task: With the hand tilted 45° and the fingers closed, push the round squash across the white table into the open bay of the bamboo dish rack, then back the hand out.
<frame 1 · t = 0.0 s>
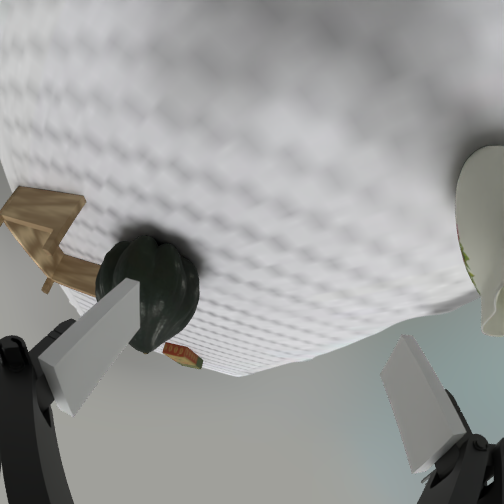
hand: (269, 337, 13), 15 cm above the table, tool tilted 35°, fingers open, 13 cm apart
pitcher: (492, 179, 18), on the table
carton: (185, 350, 90), on the table
squash: (161, 254, 39), on the table
rack: (69, 232, 40), on the table
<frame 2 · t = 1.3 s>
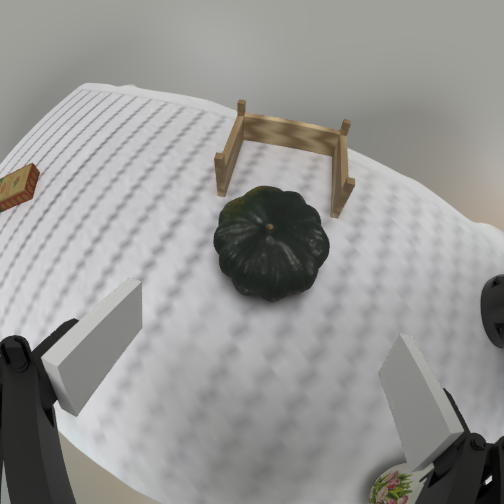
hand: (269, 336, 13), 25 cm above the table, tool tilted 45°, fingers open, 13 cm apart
pitcher: (386, 489, 26), on the table
carton: (14, 196, 47), on the table
squash: (268, 261, 42), on the table
rack: (284, 171, 49), on the table
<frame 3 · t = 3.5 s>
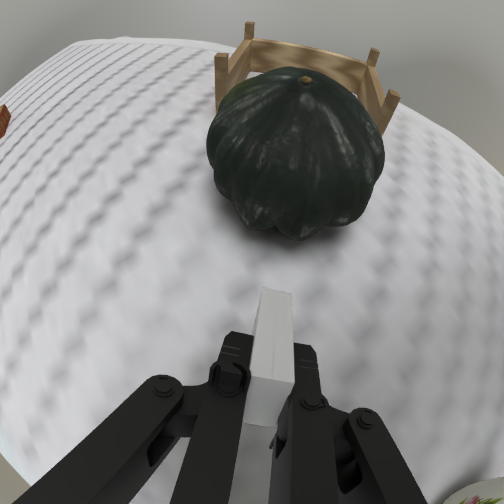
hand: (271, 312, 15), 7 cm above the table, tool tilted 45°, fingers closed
squash: (286, 193, 27), on the table
rack: (301, 99, 35), on the table
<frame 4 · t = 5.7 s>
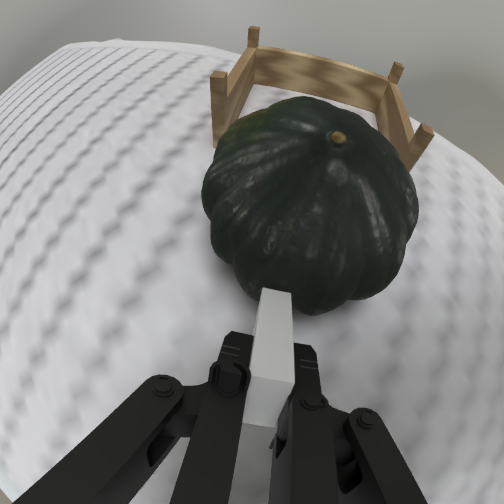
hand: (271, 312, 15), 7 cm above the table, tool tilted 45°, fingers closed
squash: (296, 242, 24), on the table, touching gripper
rack: (313, 122, 31), on the table
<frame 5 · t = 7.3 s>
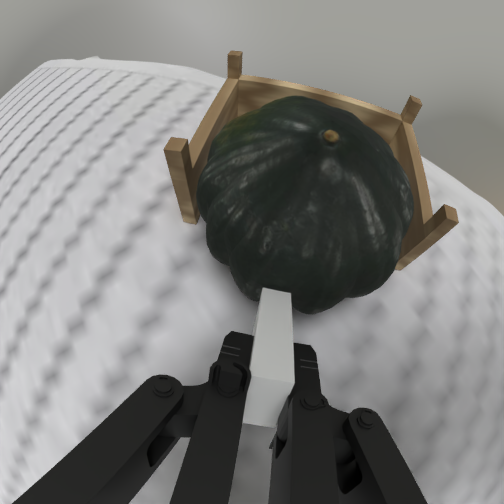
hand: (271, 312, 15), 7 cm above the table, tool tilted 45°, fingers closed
squash: (292, 241, 24), on the table, touching gripper
rack: (307, 177, 27), on the table
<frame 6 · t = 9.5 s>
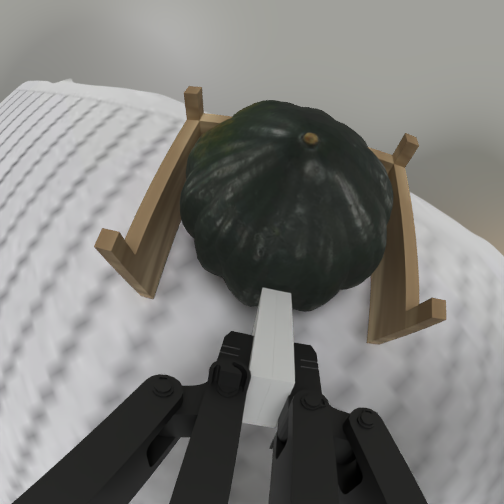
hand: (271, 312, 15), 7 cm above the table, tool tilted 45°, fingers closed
squash: (277, 242, 25), on the table, touching gripper
rack: (278, 237, 25), on the table
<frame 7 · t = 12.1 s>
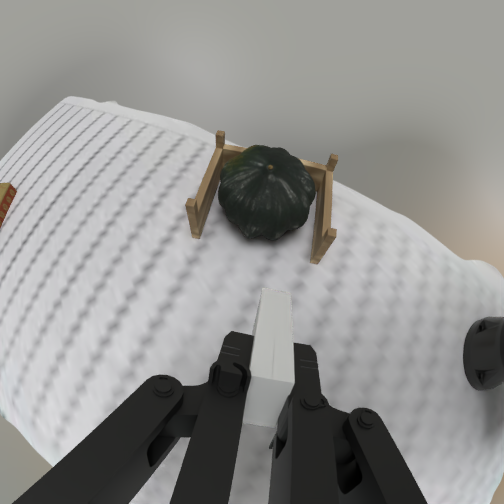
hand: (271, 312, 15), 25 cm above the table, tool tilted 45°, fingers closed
squash: (263, 212, 48), on the table
rack: (263, 209, 48), on the table
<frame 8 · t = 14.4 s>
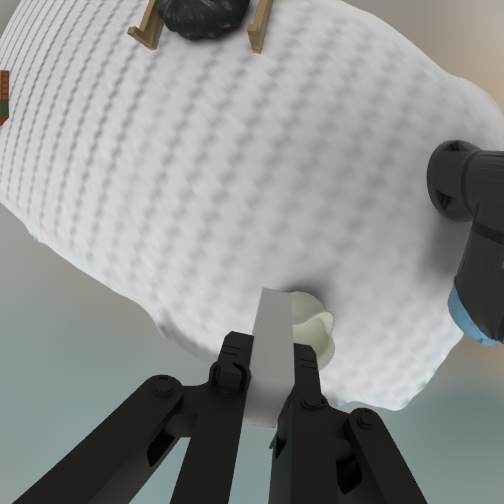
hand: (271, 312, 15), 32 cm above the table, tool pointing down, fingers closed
pitcher: (293, 311, 51), on the table
carton: (2, 100, 42), on the table
squash: (211, 16, 35), on the table
rack: (211, 14, 35), on the table
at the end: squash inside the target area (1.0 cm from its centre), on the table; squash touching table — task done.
